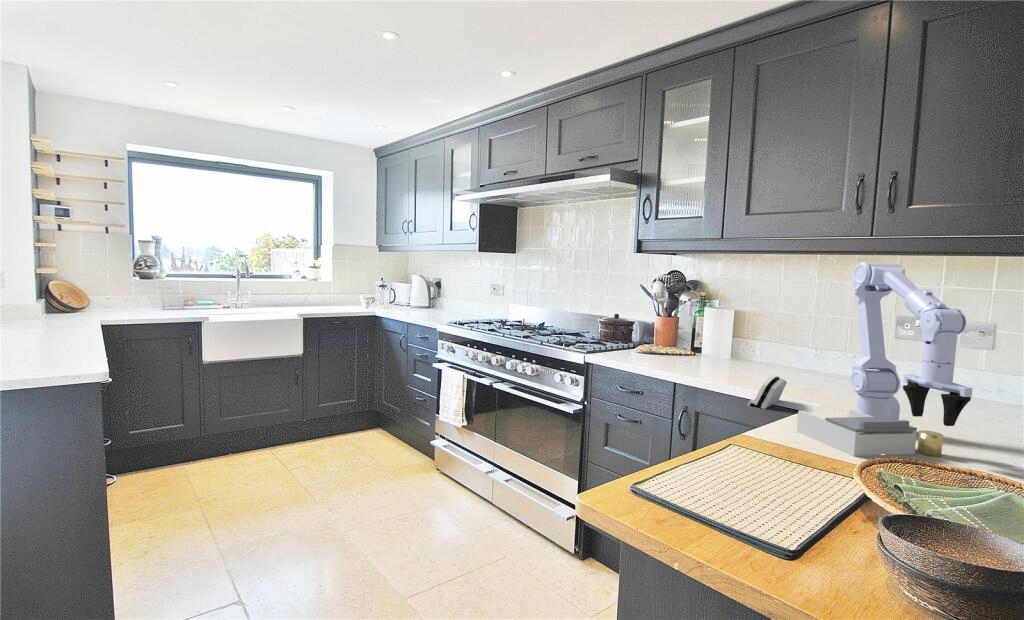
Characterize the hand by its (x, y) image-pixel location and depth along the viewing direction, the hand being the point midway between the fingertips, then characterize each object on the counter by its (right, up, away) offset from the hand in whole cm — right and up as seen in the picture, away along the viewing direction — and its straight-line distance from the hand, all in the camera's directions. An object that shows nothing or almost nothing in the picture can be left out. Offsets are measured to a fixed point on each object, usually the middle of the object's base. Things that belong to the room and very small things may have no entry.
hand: (932, 420), depth 122 cm
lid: (-13, -2, +2) cm, 13 cm away
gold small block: (0, -8, +1) cm, 8 cm away
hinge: (-16, -4, +44) cm, 48 cm away
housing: (-14, -7, +7) cm, 17 cm away
